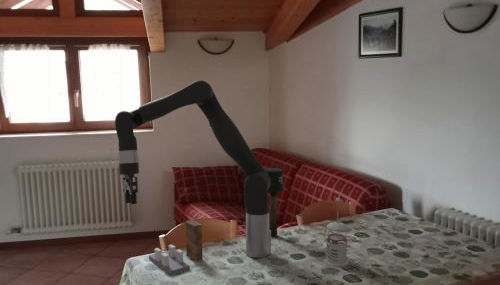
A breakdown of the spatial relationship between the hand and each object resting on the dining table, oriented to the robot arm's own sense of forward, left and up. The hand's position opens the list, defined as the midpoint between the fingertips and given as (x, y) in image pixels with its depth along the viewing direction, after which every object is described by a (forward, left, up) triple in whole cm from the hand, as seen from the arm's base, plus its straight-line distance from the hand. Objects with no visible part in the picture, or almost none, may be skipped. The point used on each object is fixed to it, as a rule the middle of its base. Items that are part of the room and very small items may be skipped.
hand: (131, 203), depth 178 cm
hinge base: (-7, +17, -21) cm, 28 cm away
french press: (-60, +52, -21) cm, 82 cm away
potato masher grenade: (-58, +17, -21) cm, 64 cm away
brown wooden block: (-18, +17, -21) cm, 33 cm away
